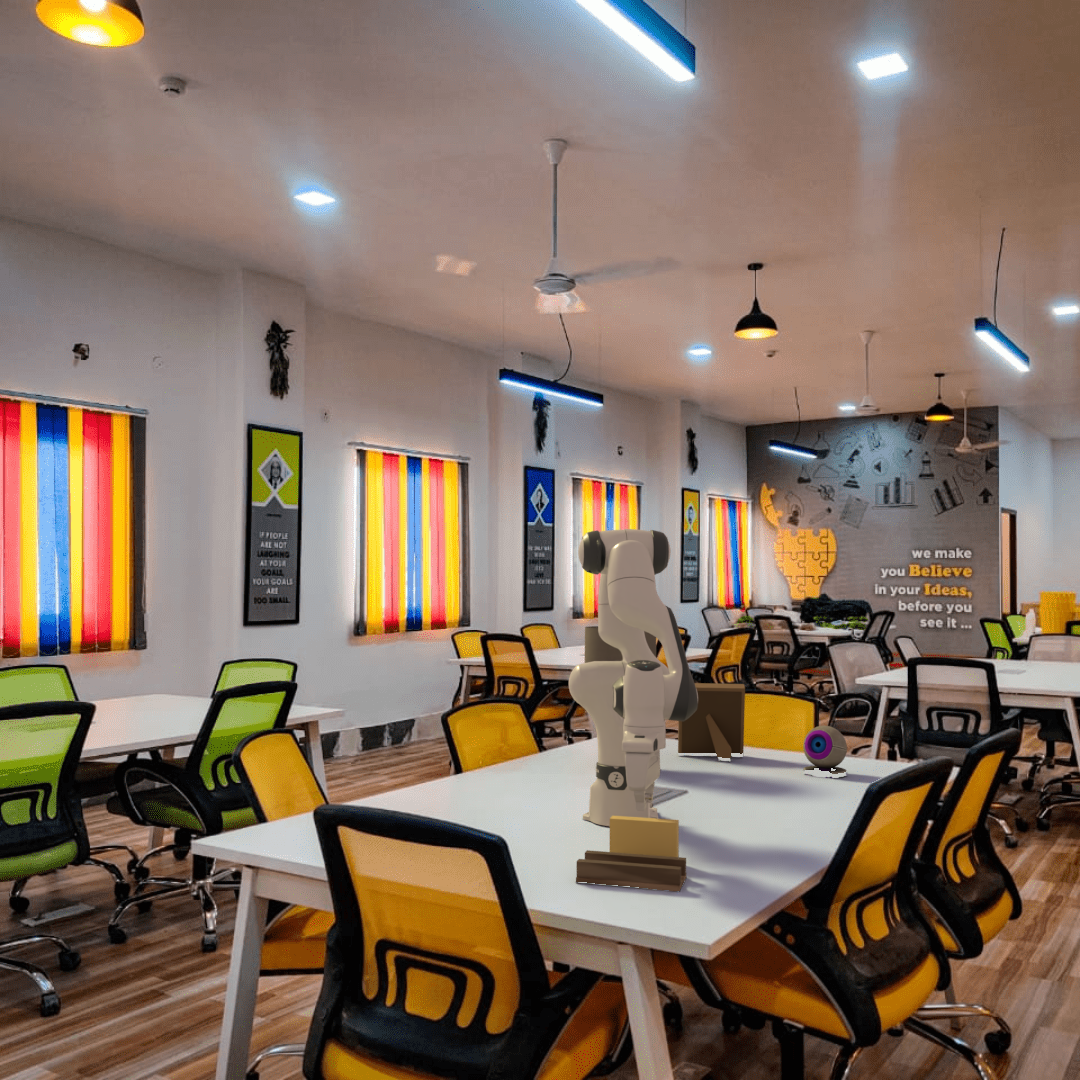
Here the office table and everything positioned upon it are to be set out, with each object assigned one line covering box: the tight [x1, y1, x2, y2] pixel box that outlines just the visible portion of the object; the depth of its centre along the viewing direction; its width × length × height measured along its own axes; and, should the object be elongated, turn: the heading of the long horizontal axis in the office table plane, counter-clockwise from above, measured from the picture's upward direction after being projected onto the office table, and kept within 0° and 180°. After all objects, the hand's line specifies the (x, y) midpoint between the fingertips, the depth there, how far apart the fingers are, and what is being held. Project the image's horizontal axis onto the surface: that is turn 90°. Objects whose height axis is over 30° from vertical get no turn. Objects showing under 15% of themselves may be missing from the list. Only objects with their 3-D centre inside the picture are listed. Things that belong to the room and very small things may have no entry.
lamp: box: [584, 625, 657, 719], centre depth 333 cm, size 23×23×44 cm
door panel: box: [609, 816, 680, 857], centre depth 217 cm, size 3×14×9 cm, turn 75°
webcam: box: [803, 725, 848, 774], centre depth 323 cm, size 13×13×15 cm
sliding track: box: [575, 849, 687, 892], centre depth 204 cm, size 10×20×4 cm, turn 75°
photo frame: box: [677, 682, 746, 759], centre depth 352 cm, size 15×22×25 cm
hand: (644, 806), depth 217 cm, fingers open, 8 cm apart
